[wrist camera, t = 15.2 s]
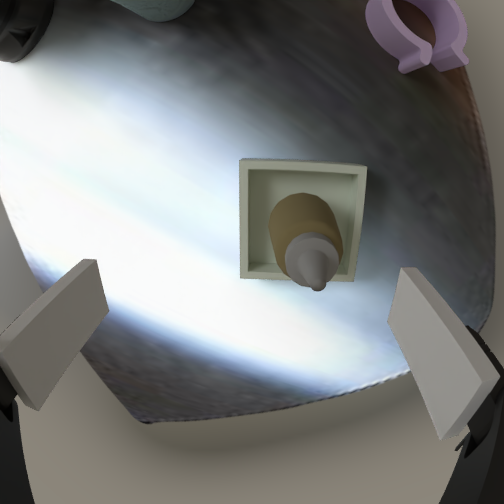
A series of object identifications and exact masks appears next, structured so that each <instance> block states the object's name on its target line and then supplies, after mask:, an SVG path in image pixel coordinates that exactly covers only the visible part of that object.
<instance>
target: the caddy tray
mask: <svg viewBox="0 0 504 504" xmlns="http://www.w3.org/2000/svg"><path fill="white" fill-rule="evenodd" d="M366 176H367V167H366V166H363V165H360V164H353V163H342V162H328V161H313V160H293V159H256V158H242V159H241V160H239V207H240V278H244V279H271V280H292V279H291V278H290V277H288V276H286V275H285V274H284V273H283V272H282V270H281V269H280V268H279V266H278V265H277V262H276V258H275V254H274V250H273V246H272V242H271V238H270V234H269V229H268V223H269V218H270V213H271V212H272V210H273V209H274V207H275V206H276V204H277V203H278V202H279V201H281V200H282V199H284V198H285V197H287V196H289V195H291V194H297V193H303V192H304V193H308V194H313V195H317V196H318V197H320V198H321V199H322V200H324V201H325V202H326V203H328V205H329V207H330V208H331V210H332V212H333V213H334V216H335V219H336V222H337V225H338V228H339V231H340V234H341V238H342V243H343V256H342V259H341V262H340V265H339V266H338V269H337V272H336V274H335V275H334V276H333V278H332V279H331V280H330V281H348V282H354V276H355V270H356V264H357V257H358V250H359V243H360V235H361V227H362V219H363V209H364V199H365V188H366Z"/></svg>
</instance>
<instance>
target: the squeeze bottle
mask: <svg viewBox="0 0 504 504" xmlns="http://www.w3.org/2000/svg"><path fill="white" fill-rule="evenodd" d="M268 229H269V234H270V238H271V242H272V246H273V250H274V254H275V258H276V262H277V265H278V266H279V268H280V269H281V270H282V272H283V273H284V274H285V275H286V276H288V277H290V278H291V279H292V280H293V281H294V282H296V283H297V284H299V285H301V286H305V287H311V288H312V289H313V290H314V291H321V290H323V289H324V288H325V286H326V283H327V282H329V281H330V280H331V279H332V278H333V276H334V275H335V274H336V272H337V269H338V266H339V265H340V262H341V259H342V256H343V243H342V238H341V234H340V231H339V228H338V225H337V222H336V219H335V216H334V213H333V212H332V210H331V208H330V207H329V205H328V203H326V202H325V201H324V200H322V199H321V198H320V197H318V196H317V195H313V194H308V193H304V192H303V193H297V194H291V195H289V196H287V197H285V198H284V199H282V200H281V201H279V202H278V203H277V204H276V206H275V207H274V209H273V210H272V212H271V213H270V218H269V223H268Z"/></svg>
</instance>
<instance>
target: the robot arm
mask: <svg viewBox="0 0 504 504" xmlns="http://www.w3.org/2000/svg"><path fill="white" fill-rule="evenodd" d="M53 5H54V2H53V0H0V61H3V62H16V61H19V60H20V59H22V58H23V57H25V56H26V55H27V54H28V53H29V52H30V51H31V50H32V49H33V48H34V47H35V45H36V44H37V43H38V41H39V40H40V38H41V37H42V35H43V34H44V32H45V30H46V28H47V26H48V24H49V21H50V19H51V16H52V12H53ZM108 312H109V308H108V305H107V301H106V297H105V294H104V290H103V286H102V282H101V278H100V273H99V269H98V265H97V260H95V259H83V260H82V261H80V262H79V263H78V264H77V265H76V266H74V267H73V268H72V269H71V270H70V271H69V272H67V273H66V274H65V275H64V276H63V277H62V278H60V279H59V280H58V281H57V282H56V283H55V284H54V285H52V286H51V287H50V288H49V289H48V290H47V291H46V292H45V293H44V294H42V295H41V296H40V297H39V298H38V299H37V300H36V301H35V302H34V303H33V304H32V305H31V306H30V307H28V308H27V309H26V310H25V311H24V312H23V313H22V314H21V315H20V316H19V317H17V318H16V320H14V322H12V324H10V325H9V326H8V327H7V329H6V330H4V331H3V333H2V334H1V335H0V504H35V503H34V499H33V495H32V492H31V488H30V484H29V479H28V475H27V470H26V465H25V459H24V454H23V447H22V441H21V433H20V424H19V414H18V405H17V402H16V401H15V399H14V398H15V397H16V395H17V394H18V396H19V397H20V398H21V400H22V401H23V403H24V404H25V405H26V406H28V407H30V408H32V409H34V410H37V411H39V410H40V408H41V407H42V405H43V404H44V402H45V401H46V399H47V397H48V396H49V394H50V393H51V391H52V390H53V388H54V387H55V385H56V384H57V382H58V381H59V379H60V378H61V377H62V375H63V374H64V372H65V371H66V369H67V368H68V366H69V365H70V364H71V362H72V361H73V359H74V358H75V357H76V355H77V354H78V352H79V351H80V350H81V348H82V347H83V345H84V344H85V343H86V341H87V340H88V339H89V337H90V336H91V335H92V333H93V332H94V330H95V329H96V328H97V327H98V325H99V324H100V323H101V321H102V320H103V319H104V317H105V316H106V315H107V313H108ZM387 322H388V324H389V326H390V328H391V330H392V332H393V334H394V336H395V338H396V340H397V342H398V344H399V346H400V348H401V350H402V352H403V354H404V357H405V359H406V361H407V363H408V365H409V367H410V369H411V372H412V374H413V376H414V378H415V381H416V383H417V385H418V387H419V390H420V392H421V394H422V397H423V399H424V401H425V404H426V406H427V409H428V411H429V414H430V416H431V419H432V421H433V423H434V426H435V429H436V431H437V434H438V437H439V439H440V441H441V440H444V439H447V438H451V437H454V436H457V435H458V434H459V433H460V432H461V431H462V430H463V429H464V427H465V426H466V425H468V427H469V429H470V432H469V433H468V434H467V435H466V436H465V438H464V439H463V440H462V441H461V442H460V443H459V445H458V446H457V447H456V449H455V451H458V450H459V449H460V447H461V446H462V445H463V447H462V450H461V453H460V455H459V458H458V461H457V463H456V466H455V468H454V471H453V474H452V476H451V478H450V481H449V483H448V485H447V487H446V490H445V492H444V494H443V496H442V498H441V500H440V502H439V504H504V369H503V367H502V365H501V364H500V363H499V361H498V360H497V358H496V357H495V355H494V354H493V353H492V352H490V349H489V347H488V346H487V345H486V344H485V342H484V340H483V339H482V338H481V336H480V335H479V334H478V333H477V332H476V331H474V330H473V329H472V328H470V327H469V326H464V324H463V323H462V322H461V320H460V319H459V318H458V317H457V315H456V314H455V313H454V312H453V310H452V309H451V308H450V307H449V305H448V304H447V303H446V302H445V300H444V299H443V298H442V297H441V296H440V294H439V293H438V292H437V291H436V290H435V288H434V287H433V286H432V285H431V284H430V283H429V282H428V280H427V279H426V278H425V277H424V276H423V275H422V274H421V272H420V271H419V270H418V269H417V268H416V267H401V269H400V274H399V278H398V282H397V287H396V291H395V295H394V299H393V302H392V306H391V310H390V314H389V317H388V321H387Z"/></svg>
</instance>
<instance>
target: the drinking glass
mask: <svg viewBox="0 0 504 504" xmlns="http://www.w3.org/2000/svg"><path fill="white" fill-rule="evenodd" d="M111 1H113V2H115V3H118V4H121V5H122V6H124V7H125V8H127V9H129V10H131V11H133V12H135V13H136V14H139V15H140V16H142V17H144V18H145V19H147V20H150V21H154V22H165V21H169V20H172V19H175V18H177V17H179V16H181V15H182V14H184V13H185V12H186V11H187V10H188V9H189V8H190V7H191V6H192V4H193V3H194V1H195V0H111Z"/></svg>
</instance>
